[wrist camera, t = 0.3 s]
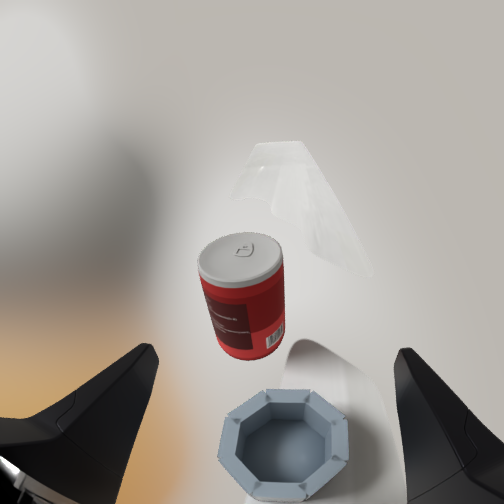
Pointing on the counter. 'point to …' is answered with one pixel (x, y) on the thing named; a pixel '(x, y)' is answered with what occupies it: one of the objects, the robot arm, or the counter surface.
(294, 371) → the counter surface
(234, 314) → the canned food
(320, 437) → the bowl
